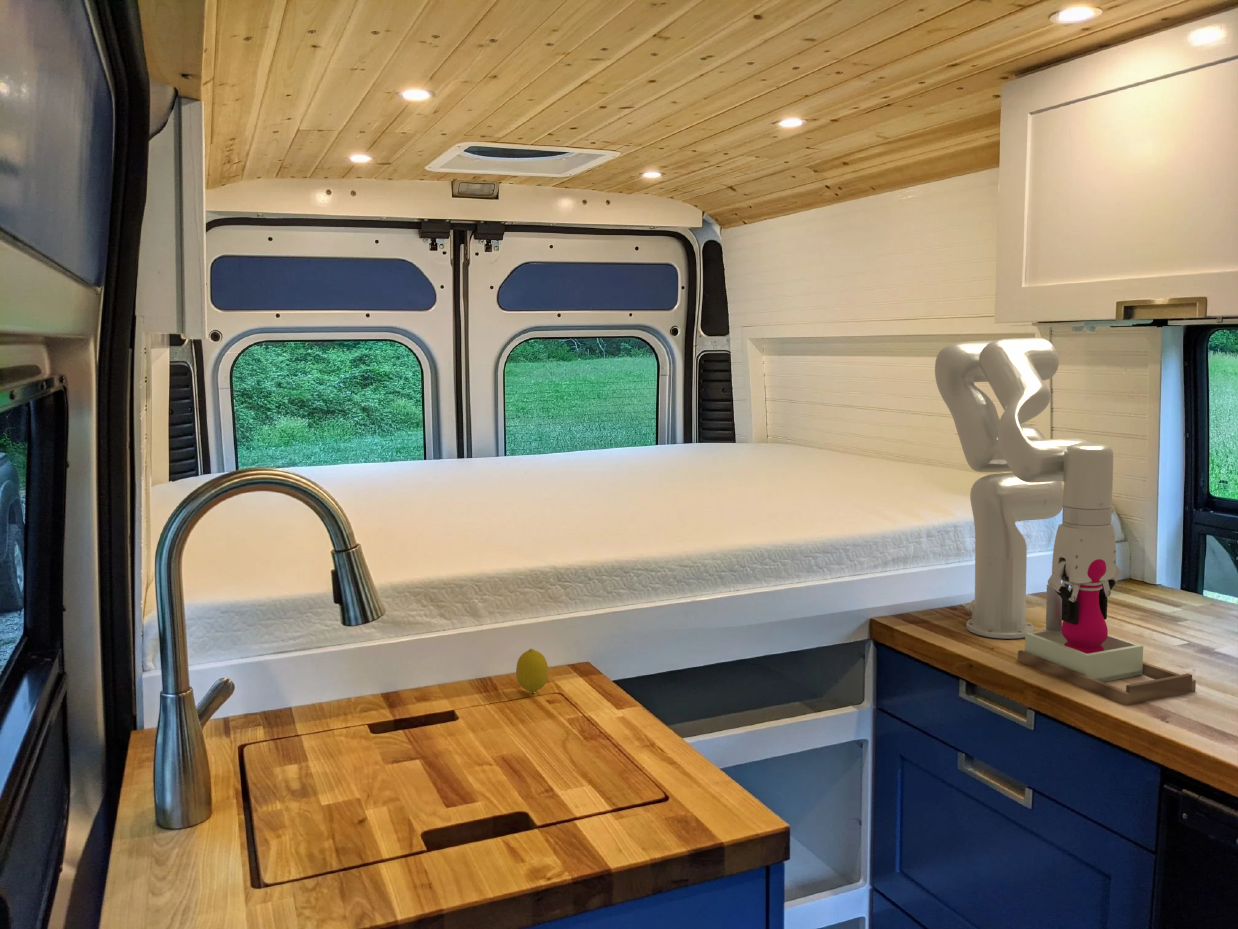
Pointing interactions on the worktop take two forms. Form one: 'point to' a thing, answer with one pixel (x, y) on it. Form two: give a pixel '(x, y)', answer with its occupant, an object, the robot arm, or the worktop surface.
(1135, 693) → the bay
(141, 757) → the worktop surface
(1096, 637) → the pepper mill
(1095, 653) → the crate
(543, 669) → the lemon
